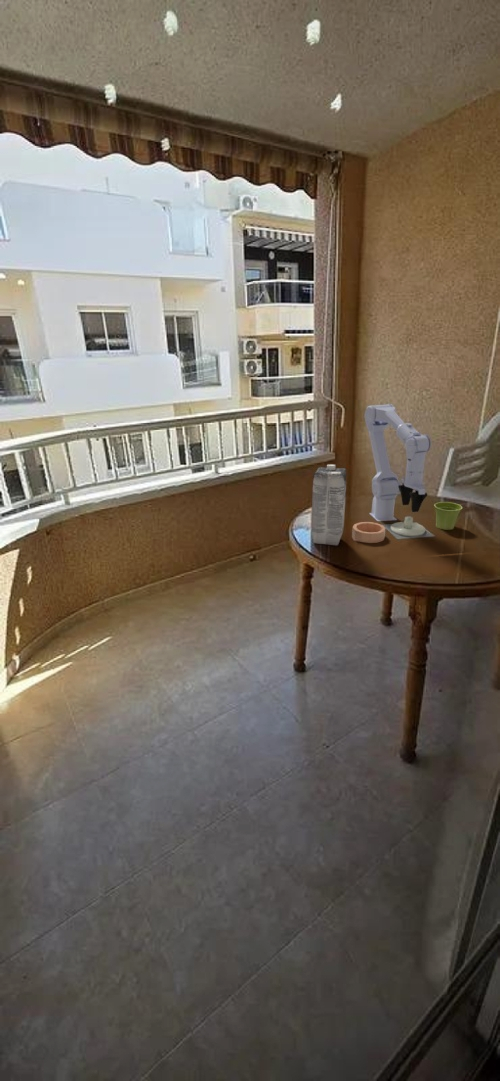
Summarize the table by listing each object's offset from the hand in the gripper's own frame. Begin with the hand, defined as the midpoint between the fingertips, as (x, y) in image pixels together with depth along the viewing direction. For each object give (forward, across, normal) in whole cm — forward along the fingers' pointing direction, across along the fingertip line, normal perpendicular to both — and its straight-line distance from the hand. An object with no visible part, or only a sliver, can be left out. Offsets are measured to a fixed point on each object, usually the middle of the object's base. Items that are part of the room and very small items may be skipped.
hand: (410, 508), depth 157 cm
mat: (+9, 0, 0) cm, 9 cm away
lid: (+9, 0, 0) cm, 9 cm away
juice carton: (+9, -3, +31) cm, 33 cm away
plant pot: (+10, +1, -15) cm, 18 cm away
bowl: (+9, -3, +16) cm, 19 cm away
